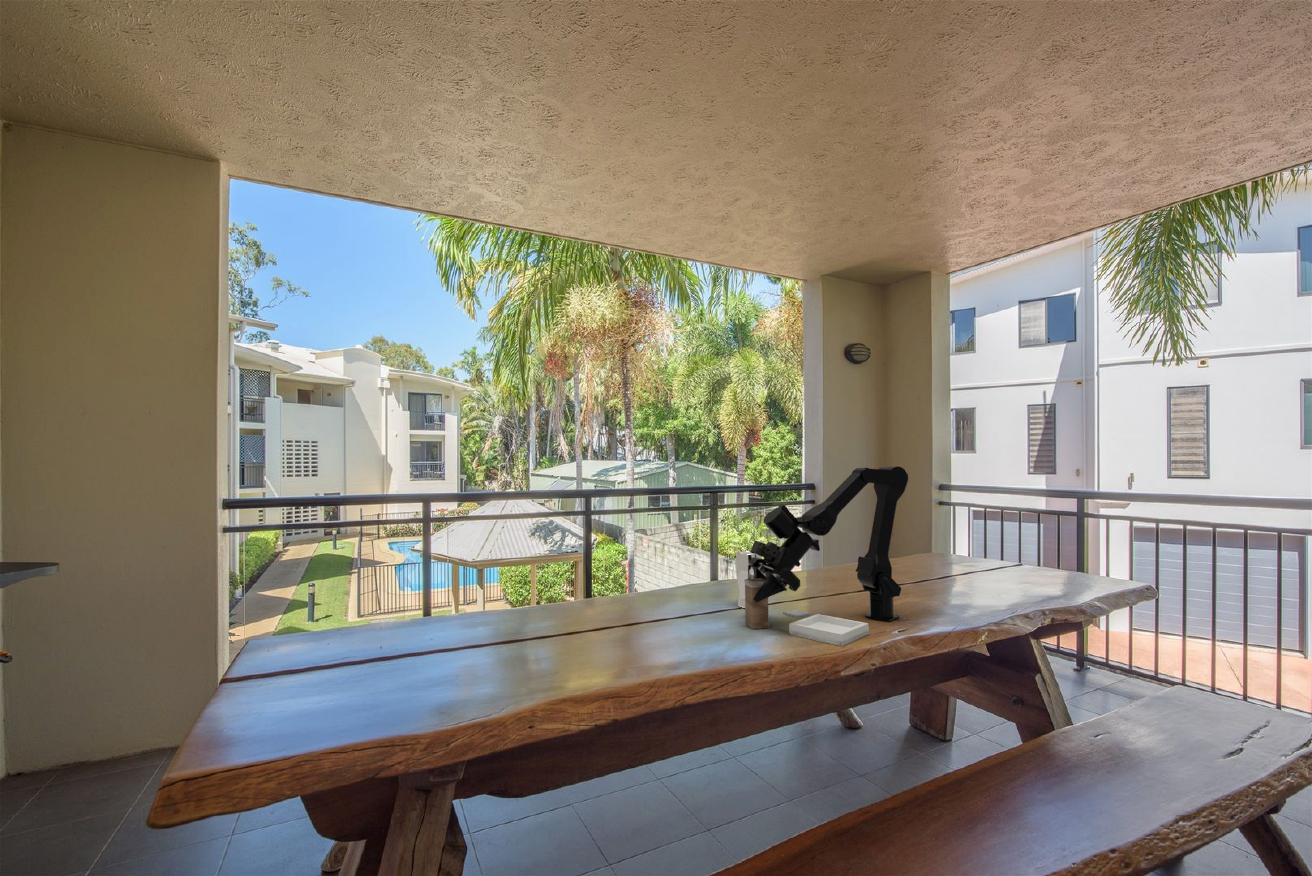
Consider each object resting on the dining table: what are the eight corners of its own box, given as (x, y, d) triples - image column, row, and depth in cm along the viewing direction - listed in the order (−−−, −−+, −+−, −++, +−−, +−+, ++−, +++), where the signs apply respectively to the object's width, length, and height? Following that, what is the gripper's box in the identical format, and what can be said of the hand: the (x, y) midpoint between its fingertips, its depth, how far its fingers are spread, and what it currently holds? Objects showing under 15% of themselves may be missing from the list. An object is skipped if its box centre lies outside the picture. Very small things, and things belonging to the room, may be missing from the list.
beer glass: (760, 604, 164) (759, 551, 165) (762, 609, 157) (761, 554, 158) (735, 603, 165) (735, 551, 166) (736, 609, 158) (736, 554, 159)
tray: (817, 624, 142) (817, 613, 142) (868, 634, 133) (868, 623, 133) (789, 634, 133) (789, 623, 133) (841, 646, 124) (841, 634, 124)
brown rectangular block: (761, 623, 142) (760, 578, 143) (769, 627, 138) (768, 581, 139) (744, 624, 141) (744, 579, 142) (752, 628, 137) (751, 582, 138)
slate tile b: (795, 612, 155) (795, 609, 155) (810, 616, 150) (810, 613, 151) (783, 615, 152) (782, 612, 152) (797, 618, 148) (797, 615, 148)
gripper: (754, 526, 151) (715, 570, 148) (787, 533, 133) (743, 583, 130) (782, 555, 153) (744, 599, 149) (818, 565, 135) (776, 616, 131)
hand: (751, 598), depth 140 cm, fingers closed on brown rectangular block, 4 cm apart
